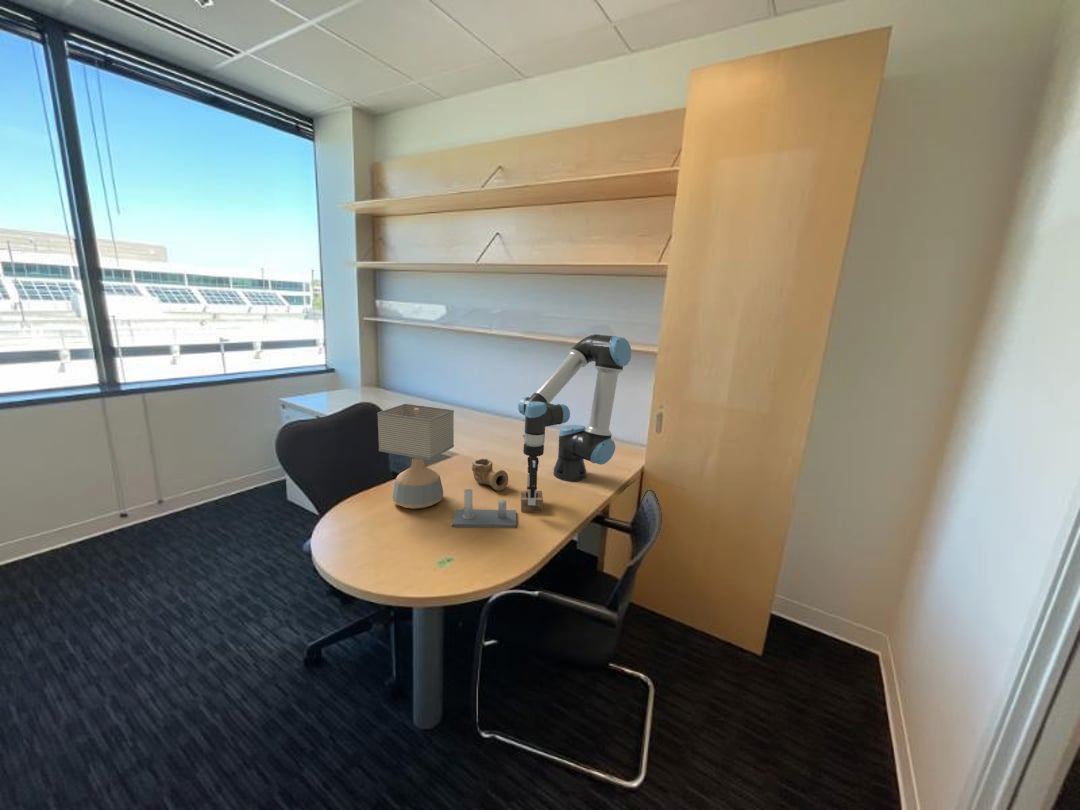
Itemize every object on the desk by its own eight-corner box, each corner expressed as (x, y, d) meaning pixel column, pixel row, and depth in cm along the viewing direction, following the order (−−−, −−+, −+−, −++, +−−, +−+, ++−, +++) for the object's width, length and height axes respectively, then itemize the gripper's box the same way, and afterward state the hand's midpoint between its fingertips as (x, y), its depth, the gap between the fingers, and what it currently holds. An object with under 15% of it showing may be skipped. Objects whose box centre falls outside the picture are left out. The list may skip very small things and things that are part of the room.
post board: (515, 512, 160) (516, 484, 158) (515, 527, 150) (516, 498, 147) (456, 511, 159) (456, 484, 156) (451, 526, 148) (451, 497, 146)
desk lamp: (455, 496, 171) (455, 406, 163) (428, 517, 154) (427, 418, 145) (409, 487, 178) (407, 400, 170) (378, 506, 160) (374, 410, 152)
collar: (541, 502, 169) (541, 490, 168) (542, 512, 161) (543, 499, 160) (520, 502, 169) (521, 490, 168) (521, 511, 161) (521, 499, 160)
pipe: (494, 494, 175) (495, 471, 172) (467, 483, 184) (467, 461, 182) (509, 487, 182) (510, 465, 179) (482, 477, 191) (482, 456, 189)
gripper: (523, 433, 171) (520, 483, 176) (524, 454, 147) (521, 511, 151) (541, 434, 172) (538, 484, 176) (546, 455, 147) (542, 512, 152)
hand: (530, 497), depth 164 cm, fingers open, 13 cm apart
